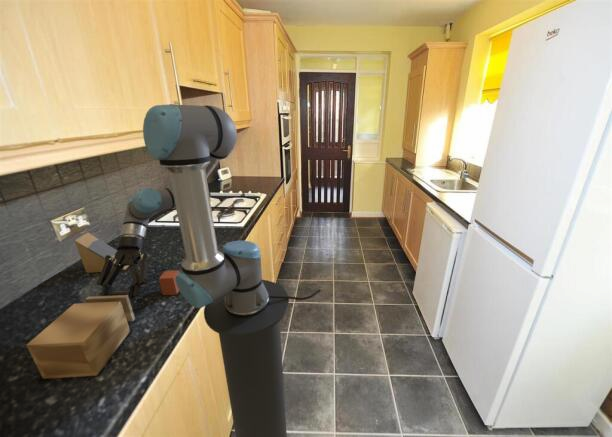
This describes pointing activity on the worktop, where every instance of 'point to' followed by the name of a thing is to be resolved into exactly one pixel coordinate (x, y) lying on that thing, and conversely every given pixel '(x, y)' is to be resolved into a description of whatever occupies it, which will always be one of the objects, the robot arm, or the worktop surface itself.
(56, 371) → the tan rectangular box
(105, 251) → the sandwich container
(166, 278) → the block
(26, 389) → the worktop surface
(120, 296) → the drawer
